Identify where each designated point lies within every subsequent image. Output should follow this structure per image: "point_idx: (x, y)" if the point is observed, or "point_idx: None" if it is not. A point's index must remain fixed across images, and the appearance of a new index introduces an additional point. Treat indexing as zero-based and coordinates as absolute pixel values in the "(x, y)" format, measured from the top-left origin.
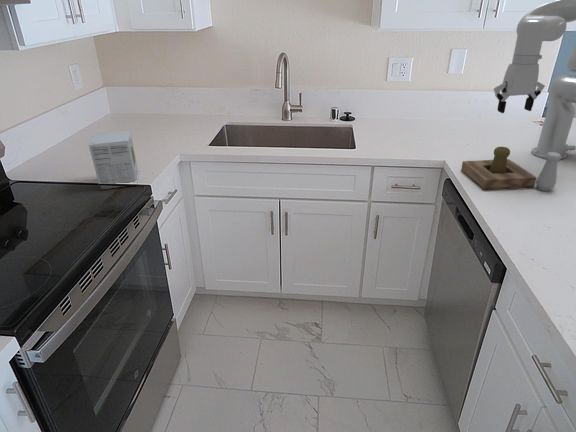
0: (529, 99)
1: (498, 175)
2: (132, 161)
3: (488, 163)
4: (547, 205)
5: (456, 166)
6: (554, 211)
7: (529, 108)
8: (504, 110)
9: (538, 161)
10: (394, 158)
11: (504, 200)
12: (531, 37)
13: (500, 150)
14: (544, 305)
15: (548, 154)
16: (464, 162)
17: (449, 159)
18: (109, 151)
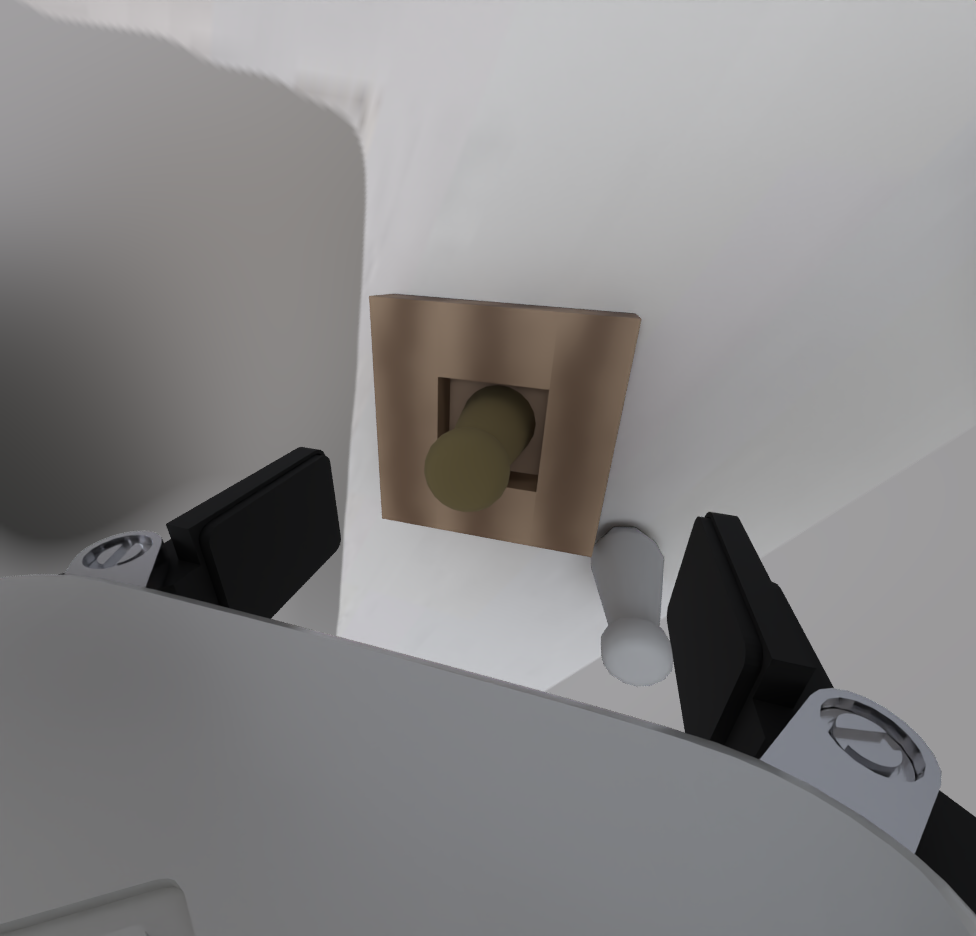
0: (712, 730)
1: None
2: None
3: (483, 358)
4: (538, 628)
5: (396, 221)
6: (530, 656)
7: (670, 639)
8: (323, 561)
9: (963, 222)
10: (101, 11)
11: (432, 569)
12: None
13: (435, 496)
14: None
15: (605, 657)
16: (370, 317)
17: (398, 80)
18: None
